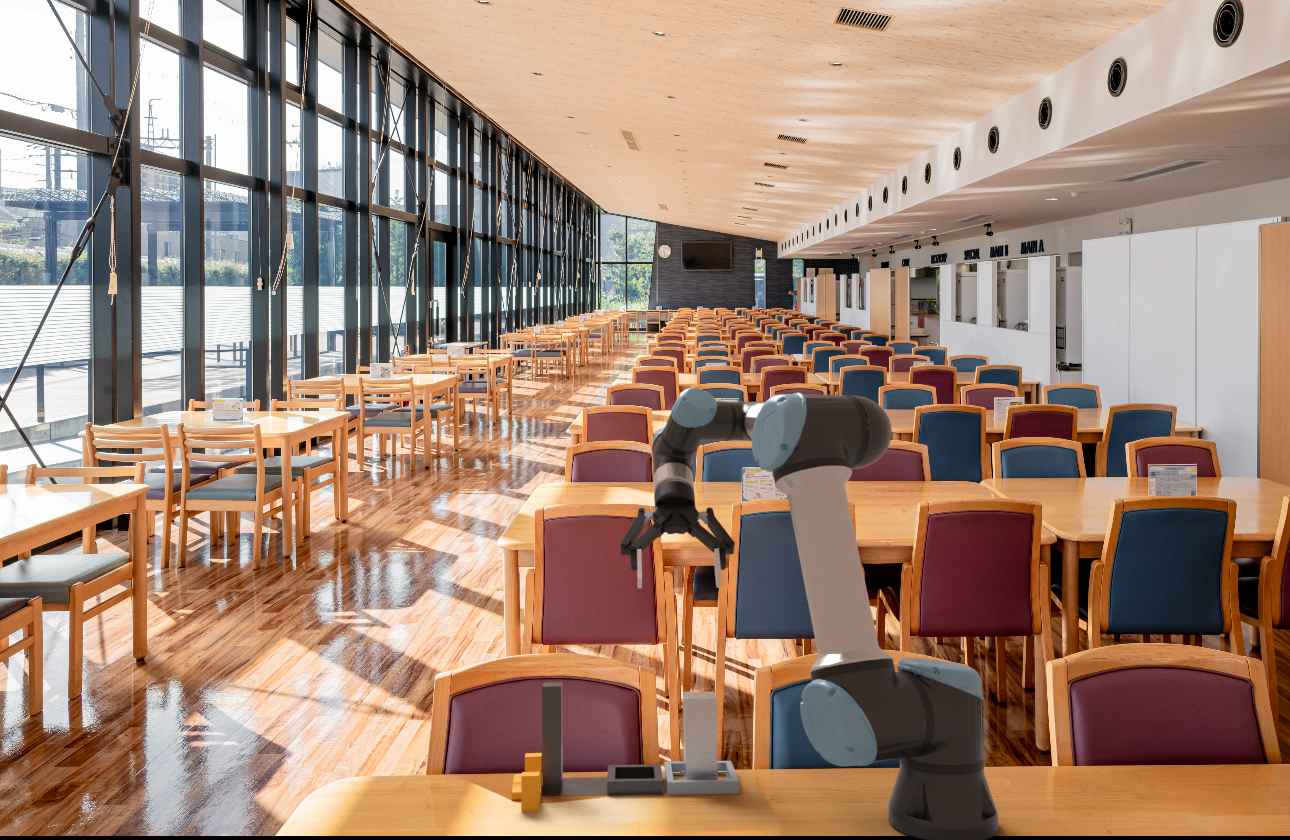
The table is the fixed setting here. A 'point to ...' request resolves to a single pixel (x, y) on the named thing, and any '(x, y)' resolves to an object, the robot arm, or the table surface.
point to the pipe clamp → (529, 783)
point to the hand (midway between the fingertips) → (679, 583)
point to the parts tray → (701, 785)
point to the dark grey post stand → (615, 783)
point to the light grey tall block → (700, 735)
